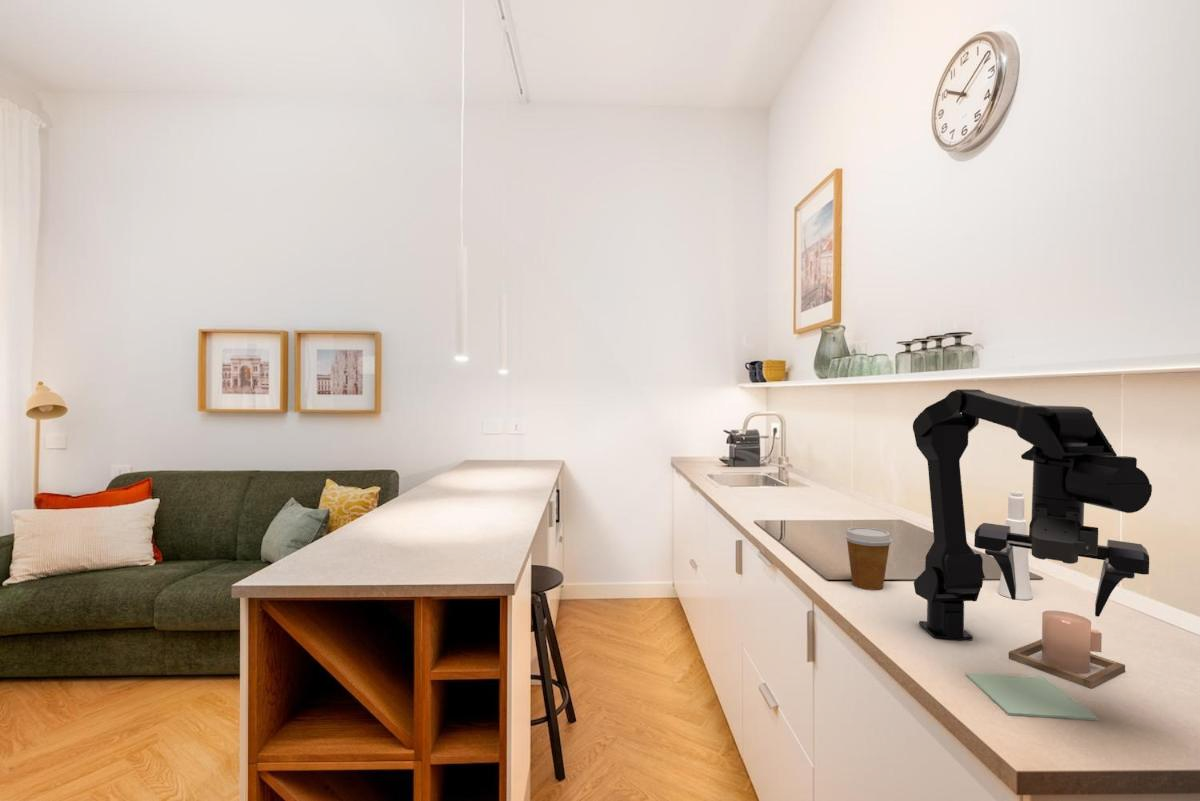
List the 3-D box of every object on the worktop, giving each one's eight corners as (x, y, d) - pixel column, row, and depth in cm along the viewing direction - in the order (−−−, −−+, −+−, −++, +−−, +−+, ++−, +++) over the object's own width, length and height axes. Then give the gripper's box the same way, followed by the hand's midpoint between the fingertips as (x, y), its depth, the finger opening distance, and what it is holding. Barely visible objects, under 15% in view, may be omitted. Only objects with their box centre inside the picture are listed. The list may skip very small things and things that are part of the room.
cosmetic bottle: (991, 592, 125) (992, 490, 125) (1009, 588, 128) (1010, 488, 127) (1021, 601, 120) (1022, 495, 119) (1039, 597, 122) (1040, 493, 122)
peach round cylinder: (1052, 671, 90) (1052, 622, 90) (1035, 654, 96) (1035, 608, 96) (1109, 677, 88) (1110, 628, 88) (1088, 660, 94) (1089, 613, 94)
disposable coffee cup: (877, 578, 135) (878, 526, 135) (900, 592, 125) (900, 536, 125) (836, 578, 135) (837, 526, 134) (856, 592, 125) (857, 537, 125)
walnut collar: (1008, 658, 94) (1008, 652, 94) (1043, 644, 100) (1043, 638, 100) (1091, 688, 85) (1091, 681, 85) (1125, 671, 90) (1125, 664, 90)
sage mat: (965, 675, 89) (965, 673, 89) (1043, 679, 87) (1043, 677, 87) (1008, 715, 78) (1008, 712, 78) (1098, 720, 76) (1098, 718, 76)
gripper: (970, 496, 81) (967, 607, 81) (1155, 517, 69) (1150, 647, 70) (981, 485, 89) (978, 585, 90) (1147, 502, 78) (1142, 617, 78)
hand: (1053, 607), depth 82 cm, fingers open, 9 cm apart
